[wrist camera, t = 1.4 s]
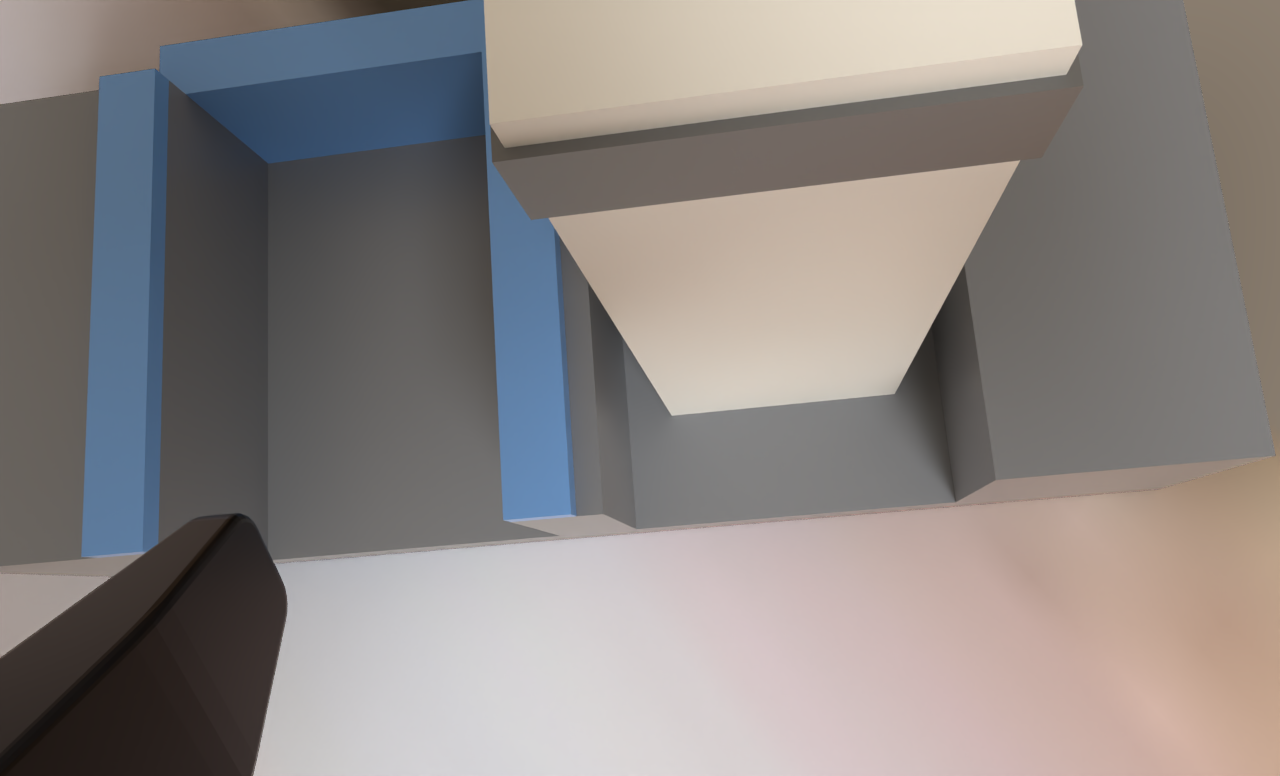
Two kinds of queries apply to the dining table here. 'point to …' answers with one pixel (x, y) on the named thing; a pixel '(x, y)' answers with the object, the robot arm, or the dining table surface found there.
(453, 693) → the dining table surface
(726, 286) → the plug
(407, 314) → the grey compartment tray
